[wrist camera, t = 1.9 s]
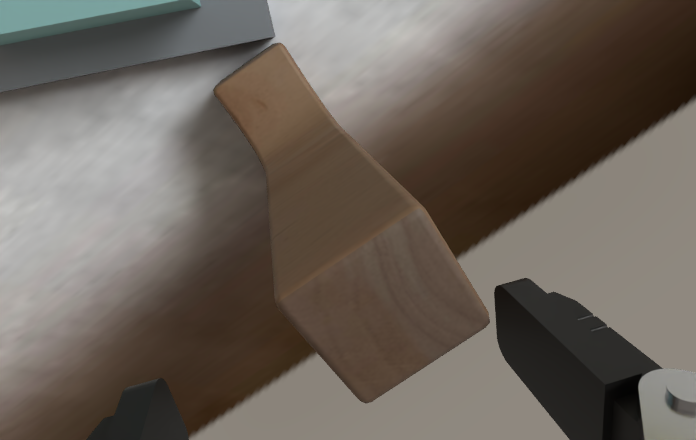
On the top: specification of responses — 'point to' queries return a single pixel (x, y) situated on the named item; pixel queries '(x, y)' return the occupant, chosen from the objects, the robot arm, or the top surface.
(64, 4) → the cradle jig
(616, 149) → the top surface
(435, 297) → the wooden block
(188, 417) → the top surface
